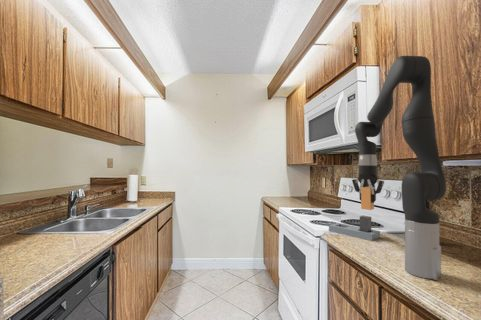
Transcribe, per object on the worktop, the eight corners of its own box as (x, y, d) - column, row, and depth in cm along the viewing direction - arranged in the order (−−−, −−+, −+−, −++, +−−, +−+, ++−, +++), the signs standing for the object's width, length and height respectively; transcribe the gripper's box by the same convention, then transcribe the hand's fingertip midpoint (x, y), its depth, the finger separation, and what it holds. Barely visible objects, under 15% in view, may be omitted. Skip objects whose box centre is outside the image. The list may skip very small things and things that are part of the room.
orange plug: (373, 209, 113) (373, 187, 113) (370, 210, 110) (370, 187, 110) (364, 208, 116) (364, 186, 116) (361, 208, 113) (361, 187, 113)
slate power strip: (380, 237, 122) (380, 217, 122) (371, 240, 116) (371, 219, 116) (338, 228, 139) (338, 210, 139) (328, 230, 132) (329, 212, 133)
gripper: (348, 164, 116) (348, 200, 116) (381, 164, 106) (381, 204, 105) (355, 164, 121) (355, 199, 121) (387, 164, 110) (387, 203, 110)
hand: (367, 201), depth 113 cm, fingers closed on orange plug, 4 cm apart
